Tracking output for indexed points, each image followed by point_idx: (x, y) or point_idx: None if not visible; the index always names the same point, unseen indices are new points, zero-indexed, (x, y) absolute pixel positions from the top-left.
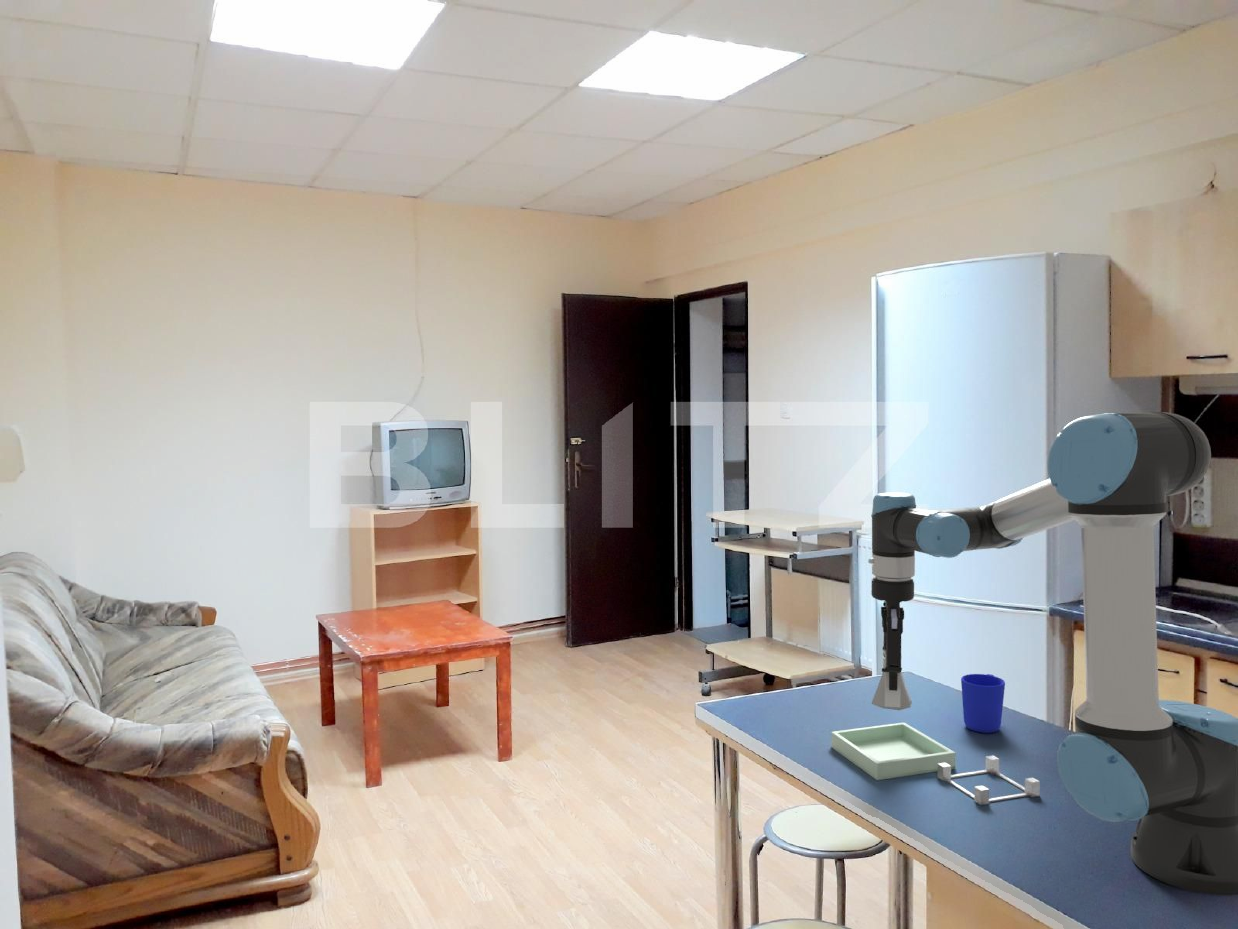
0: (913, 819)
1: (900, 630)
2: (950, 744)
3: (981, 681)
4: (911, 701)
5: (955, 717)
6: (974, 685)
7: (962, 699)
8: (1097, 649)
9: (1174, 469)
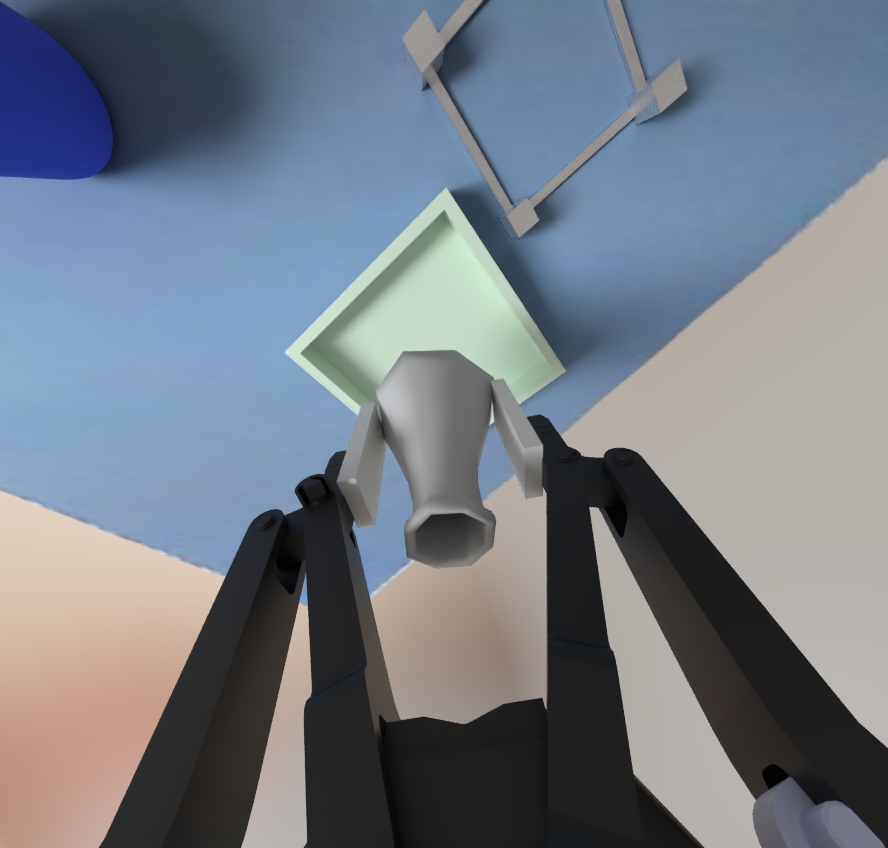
0: (721, 269)
1: (854, 729)
2: (273, 218)
3: None
4: (404, 353)
5: (30, 216)
6: None
7: (4, 174)
8: None
9: None
